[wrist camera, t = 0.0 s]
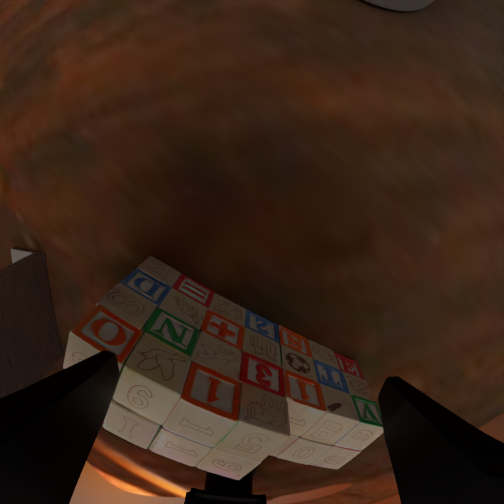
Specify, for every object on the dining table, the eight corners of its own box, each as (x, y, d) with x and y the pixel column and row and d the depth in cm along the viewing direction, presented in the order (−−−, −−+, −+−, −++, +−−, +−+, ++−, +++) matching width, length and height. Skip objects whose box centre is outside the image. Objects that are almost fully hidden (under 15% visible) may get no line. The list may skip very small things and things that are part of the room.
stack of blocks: (358, 359, 26) (402, 458, 14) (320, 401, 27) (342, 499, 15) (149, 253, 23) (65, 330, 11) (125, 310, 24) (56, 400, 13)
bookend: (63, 354, 26) (8, 422, 15) (33, 343, 26) (-23, 401, 15) (45, 252, 23) (-44, 302, 11) (14, 247, 23) (-68, 289, 11)
